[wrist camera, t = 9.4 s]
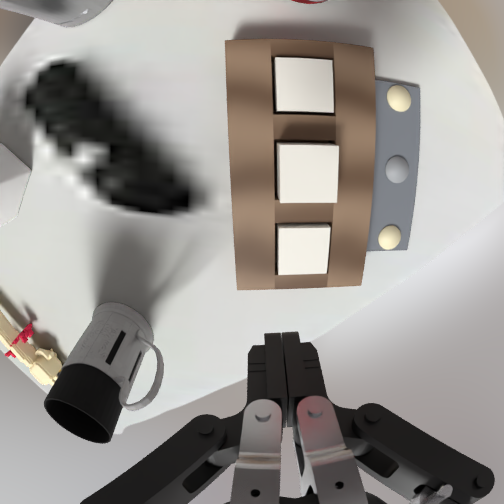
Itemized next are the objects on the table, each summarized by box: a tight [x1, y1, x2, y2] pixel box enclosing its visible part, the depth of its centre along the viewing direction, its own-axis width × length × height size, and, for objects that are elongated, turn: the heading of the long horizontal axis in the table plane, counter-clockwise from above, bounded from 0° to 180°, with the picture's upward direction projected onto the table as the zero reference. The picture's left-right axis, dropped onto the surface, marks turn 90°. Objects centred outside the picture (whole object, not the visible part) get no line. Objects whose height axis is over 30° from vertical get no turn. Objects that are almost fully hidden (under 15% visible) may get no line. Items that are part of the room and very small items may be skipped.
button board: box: [225, 39, 376, 290], centre depth 24 cm, size 22×12×3 cm, turn 2°
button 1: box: [276, 222, 330, 275], centre depth 27 cm, size 4×4×3 cm
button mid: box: [277, 142, 339, 203], centre depth 22 cm, size 4×4×3 cm
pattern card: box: [366, 80, 420, 251], centre depth 25 cm, size 17×5×1 cm, turn 2°
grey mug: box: [44, 302, 164, 444], centre depth 27 cm, size 9×14×15 cm, turn 115°
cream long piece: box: [0, 311, 62, 385], centre depth 31 cm, size 10×9×25 cm
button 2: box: [273, 57, 334, 113], centre depth 21 cm, size 4×4×3 cm
